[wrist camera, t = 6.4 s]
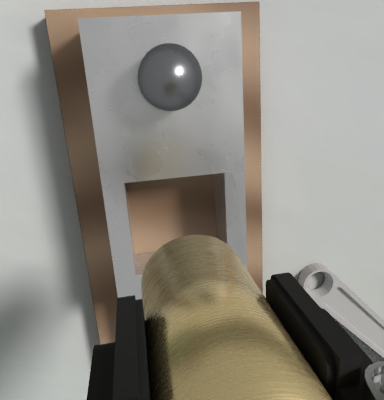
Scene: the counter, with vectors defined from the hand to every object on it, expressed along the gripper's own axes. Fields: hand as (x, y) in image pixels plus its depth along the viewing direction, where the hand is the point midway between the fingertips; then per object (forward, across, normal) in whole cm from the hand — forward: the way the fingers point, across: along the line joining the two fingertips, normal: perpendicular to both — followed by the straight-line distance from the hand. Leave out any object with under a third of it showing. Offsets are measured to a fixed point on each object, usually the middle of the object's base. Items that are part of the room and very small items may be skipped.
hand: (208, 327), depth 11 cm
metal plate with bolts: (+13, 0, 0) cm, 13 cm away
